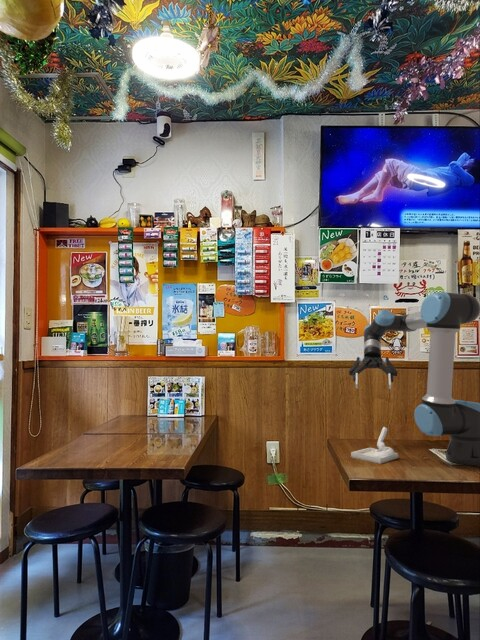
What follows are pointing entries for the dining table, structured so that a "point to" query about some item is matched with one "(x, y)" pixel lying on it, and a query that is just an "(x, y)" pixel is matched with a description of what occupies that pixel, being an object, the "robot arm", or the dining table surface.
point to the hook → (383, 445)
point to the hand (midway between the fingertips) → (373, 386)
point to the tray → (372, 456)
